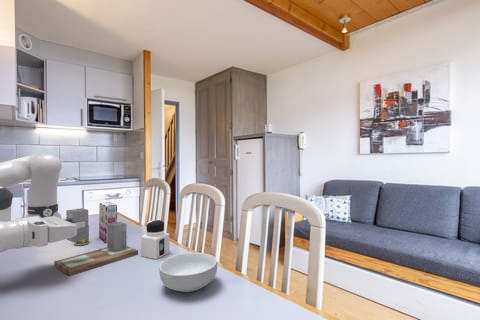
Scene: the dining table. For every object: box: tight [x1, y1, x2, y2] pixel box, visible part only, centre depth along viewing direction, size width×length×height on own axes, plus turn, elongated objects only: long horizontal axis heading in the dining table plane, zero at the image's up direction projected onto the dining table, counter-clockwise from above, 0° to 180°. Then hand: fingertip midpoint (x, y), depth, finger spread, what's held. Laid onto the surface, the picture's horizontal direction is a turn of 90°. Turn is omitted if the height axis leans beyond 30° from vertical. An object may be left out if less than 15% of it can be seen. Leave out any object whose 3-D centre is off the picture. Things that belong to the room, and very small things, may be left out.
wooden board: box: [53, 245, 139, 277], centre depth 99 cm, size 13×24×2 cm, turn 143°
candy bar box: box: [98, 201, 118, 244], centre depth 122 cm, size 11×5×16 cm, turn 42°
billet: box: [106, 221, 128, 253], centre depth 104 cm, size 5×5×10 cm
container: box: [140, 219, 171, 260], centre depth 104 cm, size 8×8×13 cm
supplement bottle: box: [73, 223, 90, 246], centre depth 116 cm, size 6×6×10 cm
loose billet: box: [65, 207, 89, 243], centre depth 93 cm, size 5×5×10 cm
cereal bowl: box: [158, 252, 218, 293], centre depth 79 cm, size 17×17×7 cm
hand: (80, 222), depth 93 cm, fingers closed on loose billet, 5 cm apart
